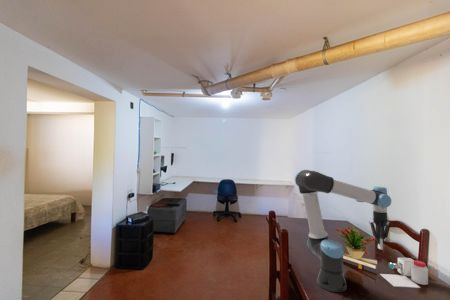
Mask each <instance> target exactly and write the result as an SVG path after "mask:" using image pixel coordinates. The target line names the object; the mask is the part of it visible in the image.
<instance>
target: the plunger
mask: <svg viewBox="0 0 450 300" xmlns="http://www.w3.org/2000/svg"><path fill="white" fill-rule="evenodd" d="M387 265H388V268H389V269H390V270H394V269H397V270H398V269H403V264H398V263H396V262H395V263H393V262H392V261H391V262H388V264H387Z"/></svg>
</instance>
